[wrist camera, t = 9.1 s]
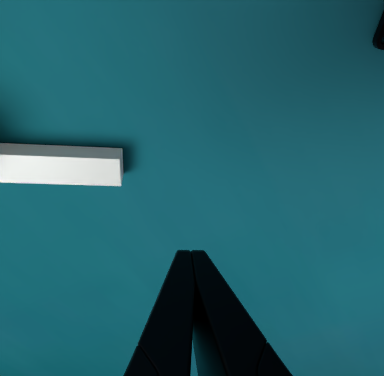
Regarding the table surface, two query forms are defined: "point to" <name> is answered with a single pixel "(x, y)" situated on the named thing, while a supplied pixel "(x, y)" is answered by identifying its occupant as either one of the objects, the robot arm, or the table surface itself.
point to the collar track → (60, 164)
